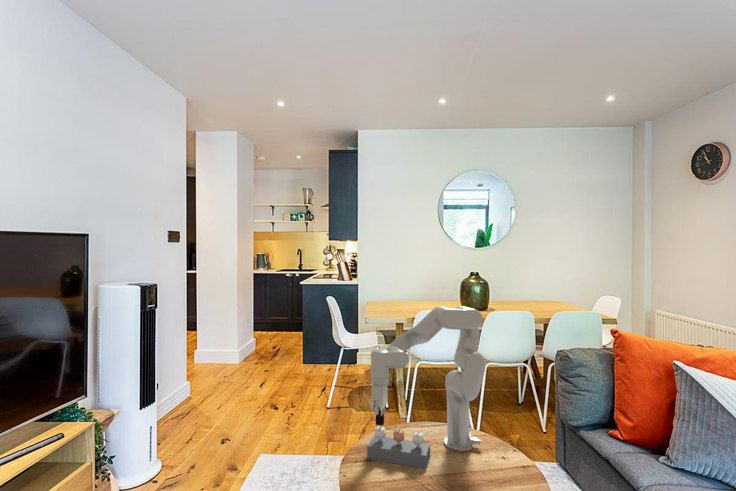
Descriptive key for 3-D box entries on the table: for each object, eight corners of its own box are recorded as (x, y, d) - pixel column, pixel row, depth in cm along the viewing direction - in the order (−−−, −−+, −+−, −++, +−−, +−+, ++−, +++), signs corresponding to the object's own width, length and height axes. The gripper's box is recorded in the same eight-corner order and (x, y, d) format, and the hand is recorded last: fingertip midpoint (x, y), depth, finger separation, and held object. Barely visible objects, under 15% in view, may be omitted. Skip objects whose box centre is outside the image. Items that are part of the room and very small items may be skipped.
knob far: (386, 442, 161) (386, 426, 161) (383, 447, 157) (383, 431, 157) (376, 440, 162) (376, 425, 162) (373, 445, 158) (373, 429, 158)
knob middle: (405, 445, 158) (405, 429, 158) (402, 450, 154) (402, 433, 154) (394, 443, 160) (394, 427, 160) (392, 448, 155) (392, 432, 156)
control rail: (430, 456, 158) (430, 443, 158) (426, 468, 148) (425, 455, 148) (374, 447, 165) (374, 435, 165) (367, 458, 156) (367, 446, 156)
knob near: (424, 448, 156) (424, 432, 156) (422, 453, 152) (422, 436, 152) (413, 446, 157) (413, 430, 157) (411, 451, 153) (411, 435, 153)
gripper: (376, 373, 168) (376, 416, 168) (365, 384, 154) (365, 430, 154) (393, 375, 166) (393, 418, 166) (383, 386, 152) (383, 433, 151)
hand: (379, 424), depth 160 cm, fingers closed
